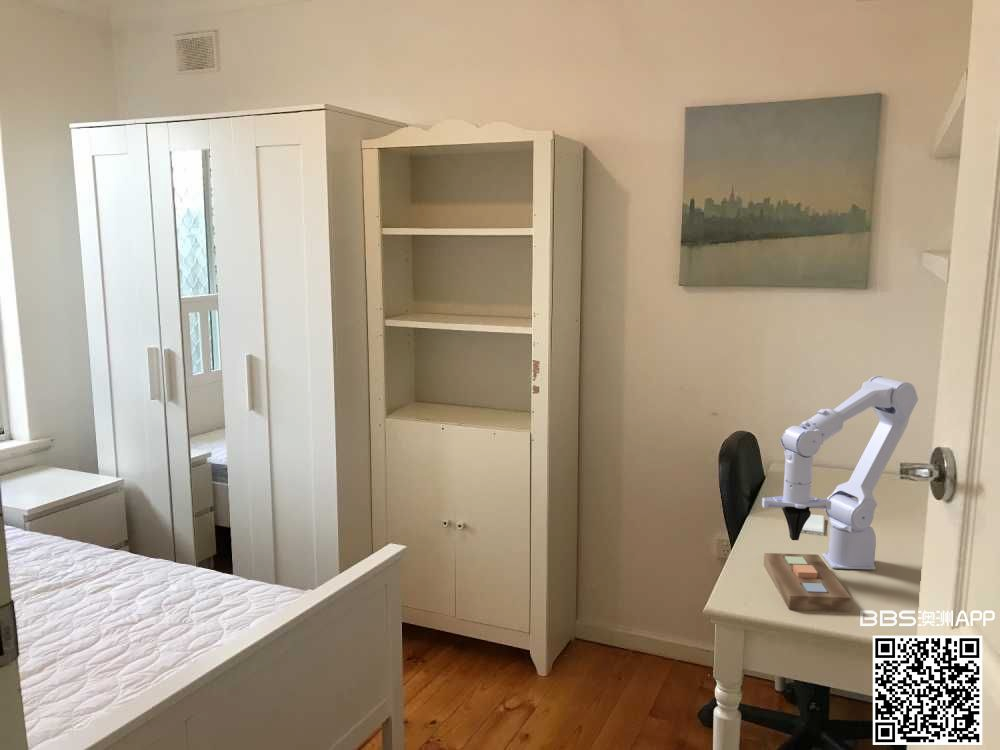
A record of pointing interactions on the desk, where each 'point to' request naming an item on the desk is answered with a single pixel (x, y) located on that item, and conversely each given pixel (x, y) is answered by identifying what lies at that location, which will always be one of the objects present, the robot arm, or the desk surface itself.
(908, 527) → the desk surface
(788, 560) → the sage button
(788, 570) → the button panel
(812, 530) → the hard drive
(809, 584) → the slate button
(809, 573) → the terracotta button
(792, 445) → the robot arm
